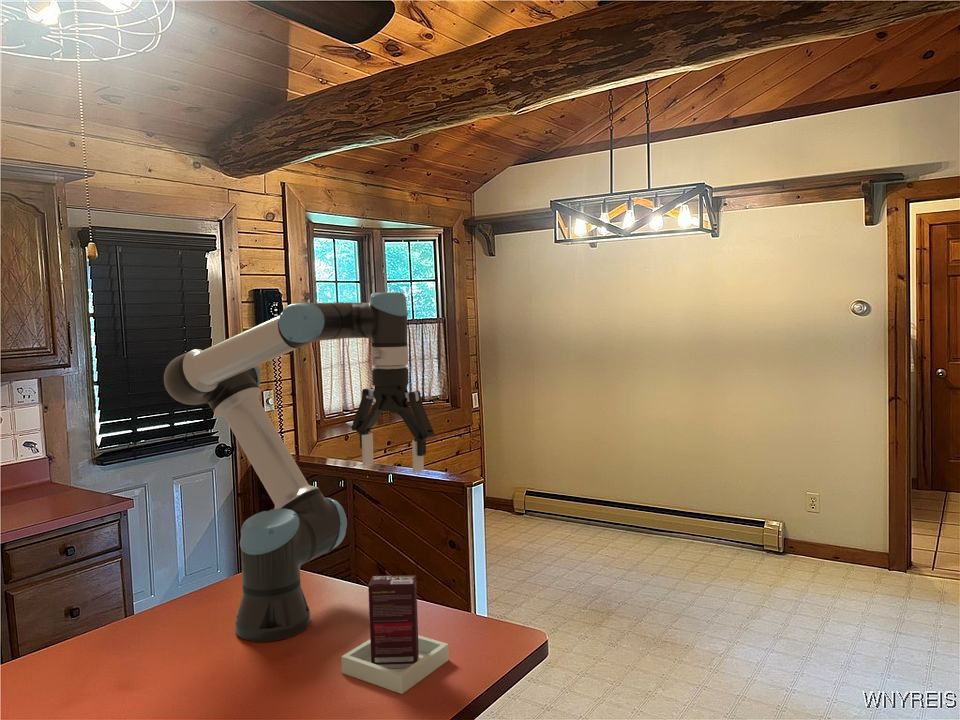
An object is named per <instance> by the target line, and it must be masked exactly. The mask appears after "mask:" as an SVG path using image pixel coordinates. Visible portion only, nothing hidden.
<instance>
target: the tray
mask: <svg viewBox="0 0 960 720" xmlns="http://www.w3.org/2000/svg"><path fill="white" fill-rule="evenodd" d="M418 646H419V657H418V661H417V662H416V663H414V664H413V665H411V666H410V667H408V668H385V667H382V666H379V665H376V664H373V663H371V640H370V639H368V640H366V641H365V642H363V643H361V644H360V645H358V646H357V647H355V648H353V649H351V650H350V651H348V652H346V653H345V654H343V655H341V656H340V657H341V661H340V662H341V673H342V674H344V675H347V676H349V677H353V678H355V679H359V680H361V681H363V682H366V683H367V682H368V683H370V684H372V685H374V686H375V685H376V686H377V687H381V688H384V689H387V690H390V691H391V692H394V693H395V692H396V693H399V694H401V695H403V694H405V692H407V691H408V690H410V689H411V688H413V687H414V686H415V685H416V684H418V683H419V682H420V681H422V680H423V679H425V678H426V677H428V676H429V675H430V674H431V673H433V672H434V671H436V670H437V669H438V668H440V667H441V666H442V665H444V664H445V663H447V662H448V661H449V659H450V658H449V656H450V654H449V649H450V648H449V643H448V642H447V643H446V642H443V641H439V640H436V639H432V638H430V637H427V636H422V635H419V634H418Z"/></svg>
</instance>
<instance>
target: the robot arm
mask: <svg viewBox="0 0 960 720" xmlns="http://www.w3.org/2000/svg"><path fill="white" fill-rule="evenodd" d="M408 313H409V312H408V308H407V297H406V295H405V294H404V293H402V292H396V291H395V292H394V291H393V292H372V293H371V294H370V296H369V301H368V302H344V301H343V302H342V301H340V302H302V301H301V302H299V303H297V302H296V303H291V304H289V305H287V306H286V307H284V309H283V310H282V311H281V313H280V314H279V315H278V316H276V317H273V318H271V319H270V320H269V319H268V320H266V321H265V322H262V323H260V324H258V325H256V326H254V327H251V328H250V329H247V330H245V331H242V332H241V333H239V334H236V335H234V336H232V337H230V338H227V339H225V340H224V341H221V342H219V343H217V344H215V345H212V346H209V347H208V348H205V349H204V350H203V349H199V348H197V349H196V348H195V349H192V350H190V351H187V352H185V353H183V354H181V355H179V356H176V357H175V358H173V359H172V360H171V361H170V362H169V363H168V364H167V365H166V368H165V370H164V373H163V385H164V387H165V390H166V392H167V393H168V395H169V396H170V397H171V398H173V399H174V400H175V401H177V402H178V403H181V404H185V405H191V406H197V405H203V404H204V405H205V404H208V406H209V407H210V409H211V411H212V412H213V414H214V415H215V417H220V418H223V419H225V422H226V423H227V424H228V426H229V427H230V430H231V431H232V433H233V435H234V436H235V438H236V440H237V442H238V444H239V445H240V447H241V449H242V450H243V452H244V454H245V455H246V457H247V459H248V461H249V463H250V464H251V466H252V468H253V469H254V472H255V473H256V475H257V476H258V478H259V480H260V482H261V483H262V485H263V487H264V489H265V490H266V492H267V494H268V495H269V497H270V499H271V501H272V502H273V504H274V508H273V509H270V510H263V511H260V512H257V513H255V514H253V515H252V516H250V517H248V518H247V519H245V520H244V522H243V524H242V525H241V528H240V540H239V547H240V559H241V561H240V562H241V576H242V577H241V579H242V595H241V600H240V604H239V608H238V612H237V614H236V617H235V619H234V626H235V628H234V629H235V634H236V635H237V636H238V637H239V638H241V639H243V640H246V641H248V642H249V641H250V642H260V643H261V642H262V643H263V642H274V641H275V642H276V641H280V640H285V639H288V638H291V637H294V636H296V635H298V634H300V633H302V632H303V631H305V630H307V628H308V627H309V626H310V624H311V610H310V608H309V606H308V602H307V599H306V597H305V594H304V592H303V589H302V586H301V566H303V565H305V564H307V563H309V562H310V561H312V560H314V559H316V558H319V557H320V556H322V555H327V554H328V553H330V552H331V551H333V550H334V549H335V548H338V546H339V545H340V544H341V543H342V542H343V540H344V539H345V536H346V534H347V526H348V521H347V520H348V519H347V514H346V512H345V510H344V507H343V506H342V505H341V504H340V503H339V502H338V501H337V500H336V499H332V498H331V497H325V496H324V495H323V493H322V492H321V489H320V488H319V487H317V486H313V485H311V484H309V483H308V481H307V479H306V478H305V476H304V475H303V472H302V471H301V469H300V467H299V466H298V464H297V462H296V460H295V459H294V457H293V456H292V454H291V452H290V450H289V449H288V447H287V445H286V444H285V442H284V440H283V438H282V437H281V435H280V434H279V432H278V430H277V428H276V427H275V425H274V423H273V422H272V420H271V419H270V417H269V415H268V413H267V411H266V410H265V408H264V406H263V405H262V403H261V402H260V396H261V394H262V390H261V389H260V385H261V378H260V376H261V370H260V368H259V366H260V365H262V364H265V363H267V362H270V361H272V360H274V359H276V358H279V357H281V356H283V355H286V354H288V353H290V352H293V351H295V350H297V349H301V348H302V347H305V346H308V345H310V344H312V343H315V342H319V341H320V342H321V341H328V340H331V341H332V340H341V339H370V340H371V341H370V342H371V364H372V366H373V368H372V369H371V380H372V381H371V382H372V383H371V384H372V385H373V387H374V388H373V387H368V388H363V389H362V390H361V391H362V392H361V400H360V403H359V405H358V407H357V411H356V414H355V416H354V419H353V422H352V425H351V430H352V431H353V432H354V431H356V432H357V433H358V434H359V448H360V449H361V458H362V460H361V461H362V462H361V463H362V466H368V465H371V464H374V434H373V432H372V431H371V430H372V428H373V427H374V426H375V424H376V422H377V420H378V419H379V418H380V416H381V415H382V414H383V412H390V413H396V414H397V416H398V415H399V416H400V418H401V419H402V420H403V422H404V423H405V425H406V427H407V428H408V430H409V431H410V433H411V434H412V436H413V437H414V439H413V440H411V442H412V443H411V447H412V449H411V451H412V452H411V453H412V473H415V474H416V473H419V472H422V471H424V470H425V465H424V463H425V462H424V457H425V455H427V439H429V438H432V437H434V435H435V432H434V429H433V426H432V424H431V422H430V419H429V417H428V415H427V412H426V410H425V407H424V404H423V403H422V396H421V392H420V391H419V390H414V391H408V385H409V381H410V380H409V368H408V367H407V365H409V345H408V315H409V314H408ZM374 399H375V402H374ZM373 402H374V403H373ZM408 402H409V403H408ZM372 404H373V405H372Z"/></svg>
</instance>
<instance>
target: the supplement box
mask: <svg viewBox="0 0 960 720" xmlns="http://www.w3.org/2000/svg"><path fill="white" fill-rule="evenodd" d="M367 587H368V612H369V613H368V615H369V635H370V636H369V637H370V639H369V640H371V663H373V664H376V665H379V666H382V667H385V668H408V667H410V666H411V665H413V664H414V663H416V662H417V661H418V657H419V646H418V635H419V625H418V624H419V622H418V621H419V620H418V619H419V618H418V595H417V593H418V591H417V574H409V575H408V574H406V575H404V574H403V575H402V574H401V575H399V574H398V575H372V576H371V579H370V580H369V583H368V585H367Z"/></svg>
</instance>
